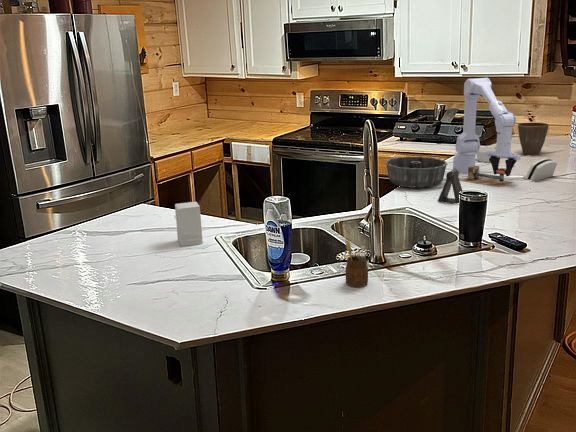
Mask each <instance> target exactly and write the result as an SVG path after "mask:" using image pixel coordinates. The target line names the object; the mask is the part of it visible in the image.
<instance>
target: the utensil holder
mask: <svg viewBox="0 0 576 432" xmlns="http://www.w3.org/2000/svg"><path fill="white" fill-rule="evenodd" d="M344 241H345V248H346V251H348V255H349V256H348V257H347V259H346V265H345V283H346V285H347V286H349V287H351V288H363V287H365V286H367V285H368V284H369V267H368V265H367V263H368V262H367V261H368V260H367V258H366V256H367V250H368V249H365V250H363V253H364V254H362V255H361V251H356V252H357V253H356V254H359V255H352V254H351V250H352V246H351V243H350V238H349V237H348V238H345V239H344ZM363 248H366V246H365V245H361V246H360V247H359V248H358V249H357V250H362V249H363Z"/></svg>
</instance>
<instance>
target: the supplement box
mask: <svg viewBox="0 0 576 432" xmlns="http://www.w3.org/2000/svg"><path fill="white" fill-rule="evenodd" d="M174 210H175V222H176V232H177V233H176V234H177V241H178V244H179V245H180V247H188V246H195V245H202V244H203V243H204V242H203V233H202V232H203V229H202V217H201V215H202V214H201V206H200V204H199V203H198V202H197V201H188V202H180V203H175V204H174Z"/></svg>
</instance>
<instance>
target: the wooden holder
mask: <svg viewBox="0 0 576 432" xmlns="http://www.w3.org/2000/svg"><path fill="white" fill-rule="evenodd" d="M475 172H476V173H480V166H479V165H475V166H471V167H468V173H467V177H468V179H465V180H469V181H476V180H479V179H481V178H479V177H480V176H477V177H474V173H475Z"/></svg>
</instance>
